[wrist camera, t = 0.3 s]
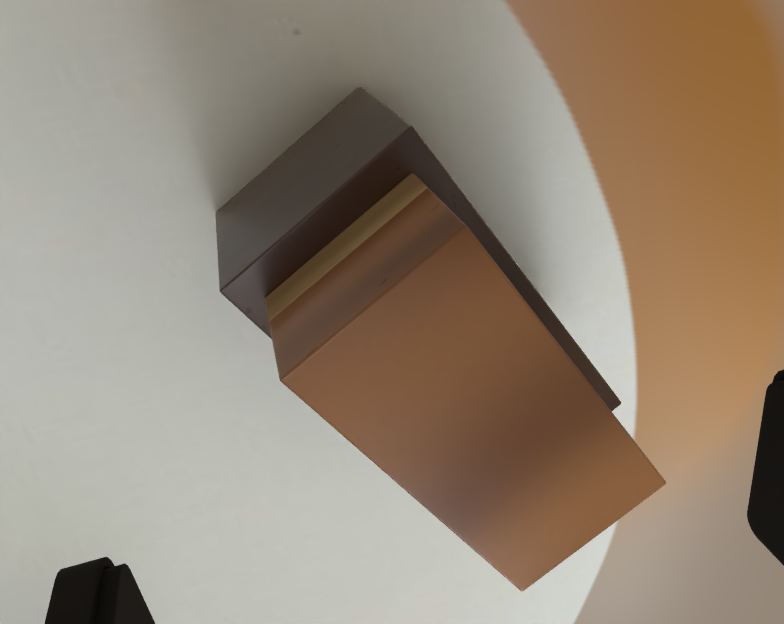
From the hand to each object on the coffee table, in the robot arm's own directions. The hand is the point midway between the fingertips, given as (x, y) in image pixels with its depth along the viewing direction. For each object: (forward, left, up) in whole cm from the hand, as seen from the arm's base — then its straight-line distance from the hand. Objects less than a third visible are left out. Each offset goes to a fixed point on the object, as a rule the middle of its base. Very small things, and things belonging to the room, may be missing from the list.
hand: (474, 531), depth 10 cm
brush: (+1, +5, -11) cm, 12 cm away
